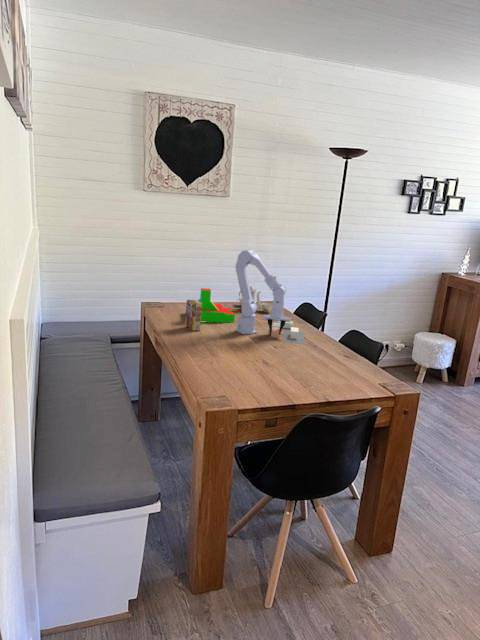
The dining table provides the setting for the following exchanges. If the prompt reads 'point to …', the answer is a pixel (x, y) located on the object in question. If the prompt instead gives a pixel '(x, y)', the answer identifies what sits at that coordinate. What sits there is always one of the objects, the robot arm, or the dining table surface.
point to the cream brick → (294, 333)
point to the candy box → (193, 314)
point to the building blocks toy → (214, 309)
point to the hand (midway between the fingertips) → (275, 333)
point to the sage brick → (287, 324)
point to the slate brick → (276, 325)
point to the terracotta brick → (275, 332)
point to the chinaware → (258, 301)
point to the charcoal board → (287, 339)
